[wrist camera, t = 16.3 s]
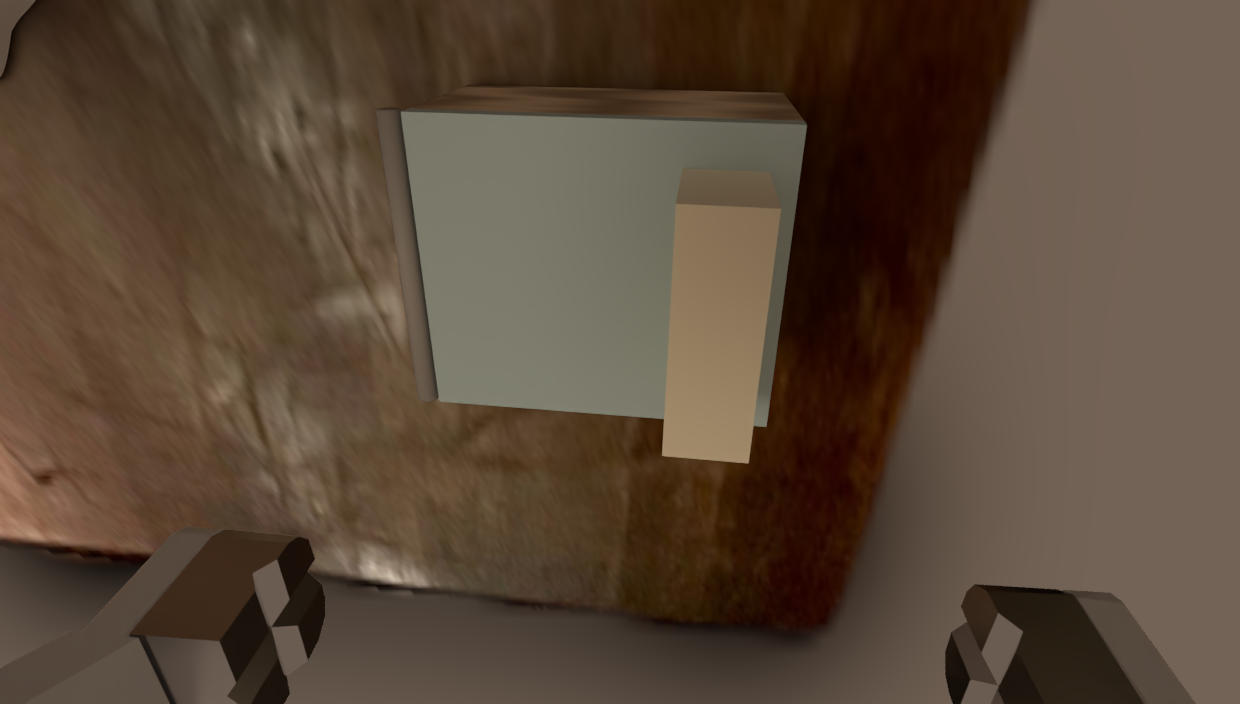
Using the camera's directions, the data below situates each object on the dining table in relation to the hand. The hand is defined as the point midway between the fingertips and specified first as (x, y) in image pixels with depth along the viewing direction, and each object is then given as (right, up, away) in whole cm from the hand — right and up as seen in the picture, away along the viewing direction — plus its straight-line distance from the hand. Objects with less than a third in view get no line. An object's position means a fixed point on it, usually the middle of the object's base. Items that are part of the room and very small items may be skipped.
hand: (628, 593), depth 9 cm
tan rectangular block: (+4, +5, +17) cm, 18 cm away
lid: (-1, +6, +18) cm, 19 cm away
